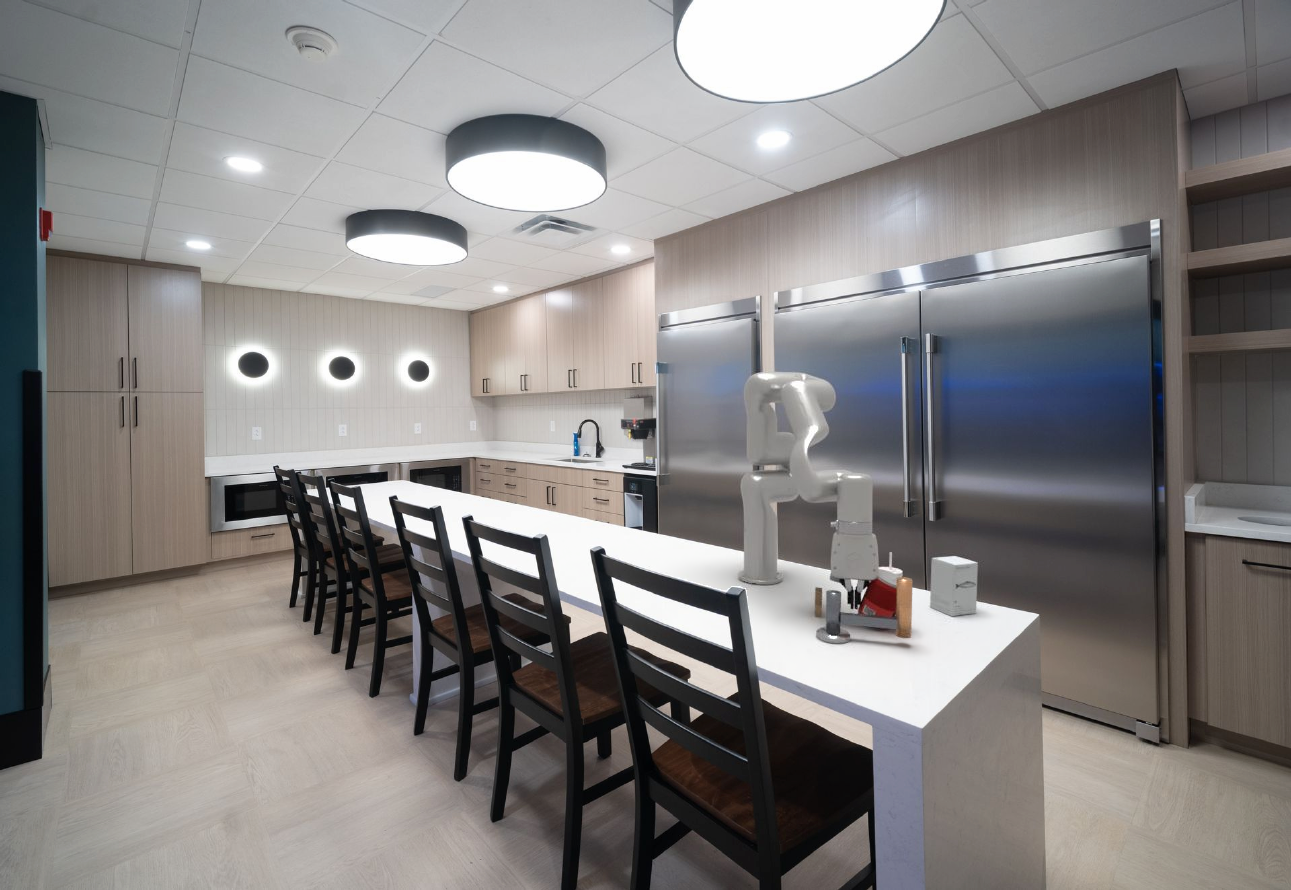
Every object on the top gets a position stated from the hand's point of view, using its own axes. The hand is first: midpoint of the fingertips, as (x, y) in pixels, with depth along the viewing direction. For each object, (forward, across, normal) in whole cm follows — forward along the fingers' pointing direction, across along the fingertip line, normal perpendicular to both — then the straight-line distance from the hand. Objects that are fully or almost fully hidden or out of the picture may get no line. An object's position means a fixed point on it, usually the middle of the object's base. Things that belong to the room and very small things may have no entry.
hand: (854, 607), depth 135 cm
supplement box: (+4, +23, +18) cm, 29 cm away
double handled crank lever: (+3, +3, -9) cm, 10 cm away
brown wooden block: (+4, -8, +5) cm, 10 cm away
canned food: (+3, +4, +1) cm, 5 cm away
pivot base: (+4, -4, -9) cm, 11 cm away
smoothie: (+4, +8, +14) cm, 17 cm away
